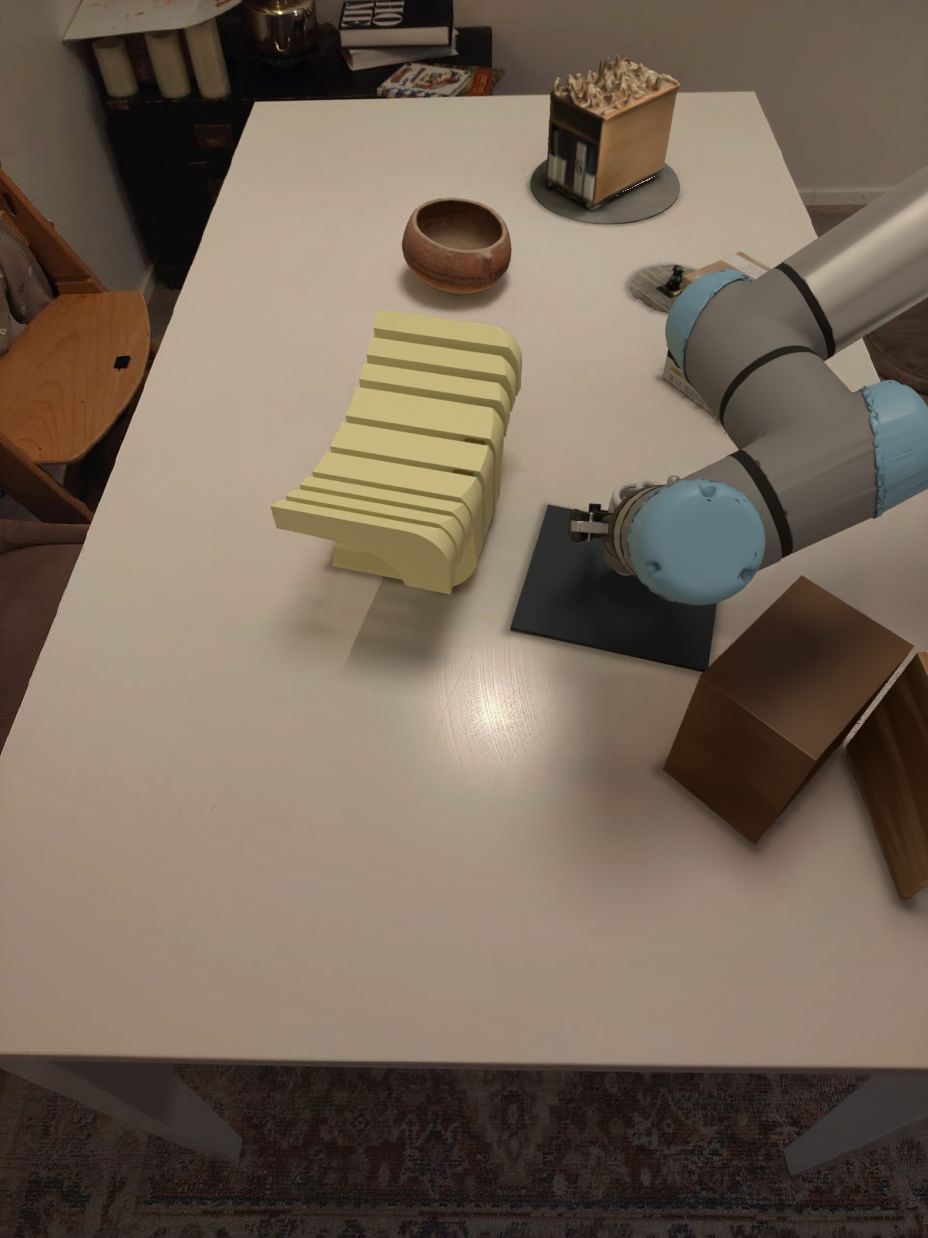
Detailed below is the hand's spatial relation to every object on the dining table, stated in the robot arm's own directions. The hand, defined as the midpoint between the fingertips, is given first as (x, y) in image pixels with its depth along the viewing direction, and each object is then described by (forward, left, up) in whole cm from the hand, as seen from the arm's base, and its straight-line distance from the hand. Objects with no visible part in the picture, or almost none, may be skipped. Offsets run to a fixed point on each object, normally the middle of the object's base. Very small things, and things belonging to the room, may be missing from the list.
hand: (628, 524), depth 86 cm
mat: (-1, +4, -5) cm, 7 cm away
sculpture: (+1, -53, -6) cm, 54 cm away
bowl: (+32, -47, -6) cm, 58 cm away
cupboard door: (-29, +23, -5) cm, 37 cm away
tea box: (-9, -31, -6) cm, 33 cm away
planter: (+16, -81, -6) cm, 83 cm away
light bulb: (-1, +4, -4) cm, 5 cm away
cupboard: (-16, +21, -5) cm, 26 cm away
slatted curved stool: (+22, +3, -6) cm, 23 cm away
